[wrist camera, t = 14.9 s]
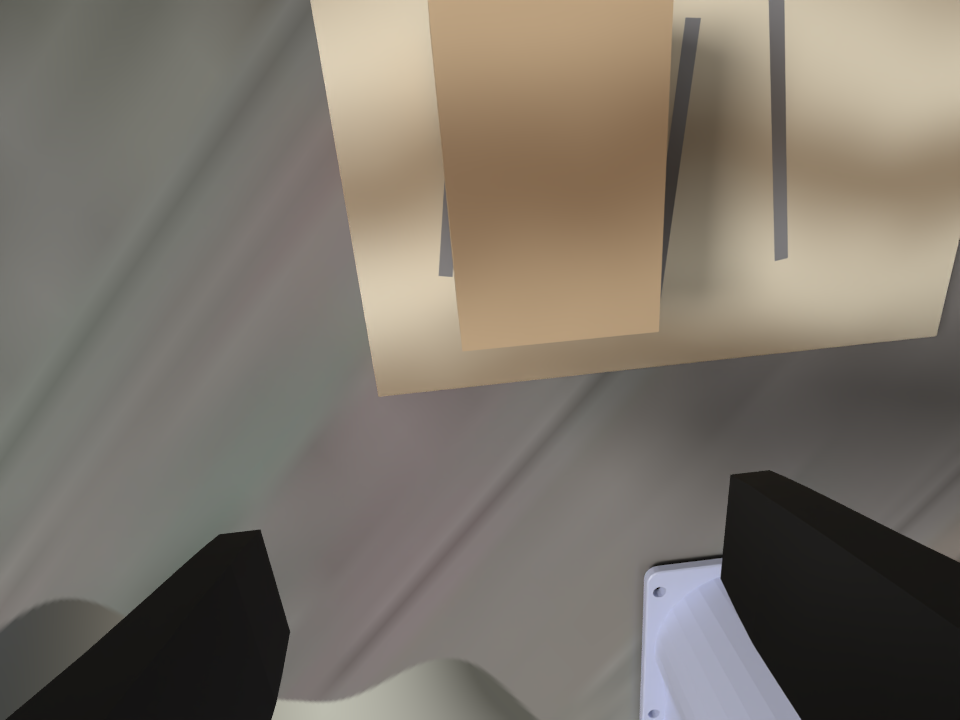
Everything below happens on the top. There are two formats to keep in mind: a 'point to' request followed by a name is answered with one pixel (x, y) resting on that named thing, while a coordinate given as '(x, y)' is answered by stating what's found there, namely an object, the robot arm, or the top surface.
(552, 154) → the block
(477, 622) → the top surface
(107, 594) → the top surface
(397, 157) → the board
